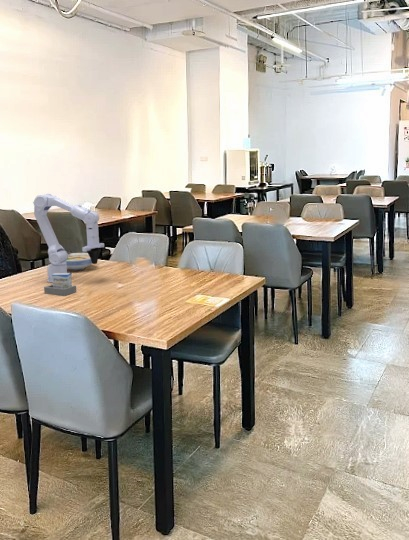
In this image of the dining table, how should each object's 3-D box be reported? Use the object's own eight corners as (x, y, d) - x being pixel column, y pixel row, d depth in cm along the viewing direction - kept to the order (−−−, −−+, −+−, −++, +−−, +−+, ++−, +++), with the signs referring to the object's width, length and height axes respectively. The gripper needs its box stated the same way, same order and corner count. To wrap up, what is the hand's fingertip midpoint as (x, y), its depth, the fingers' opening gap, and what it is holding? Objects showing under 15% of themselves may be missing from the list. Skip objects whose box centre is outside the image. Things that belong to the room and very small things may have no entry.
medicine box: (53, 292, 244) (51, 274, 242) (56, 290, 248) (54, 272, 246) (70, 292, 243) (68, 274, 242) (72, 290, 248) (71, 272, 246)
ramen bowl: (92, 273, 283) (91, 258, 281) (49, 274, 283) (48, 259, 282) (101, 264, 307) (100, 250, 306) (62, 265, 308) (61, 251, 306)
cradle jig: (44, 293, 243) (44, 287, 242) (56, 289, 250) (56, 283, 249) (64, 296, 238) (64, 289, 237) (76, 291, 245) (76, 285, 244)
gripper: (89, 239, 250) (91, 267, 253) (108, 234, 263) (110, 261, 266) (78, 238, 254) (80, 265, 256) (97, 234, 266) (98, 260, 269)
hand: (94, 263), depth 261 cm, fingers closed
